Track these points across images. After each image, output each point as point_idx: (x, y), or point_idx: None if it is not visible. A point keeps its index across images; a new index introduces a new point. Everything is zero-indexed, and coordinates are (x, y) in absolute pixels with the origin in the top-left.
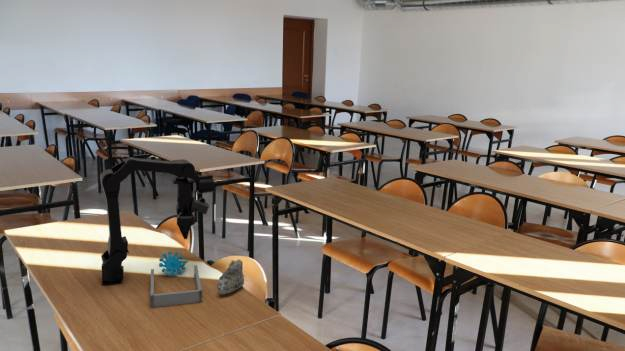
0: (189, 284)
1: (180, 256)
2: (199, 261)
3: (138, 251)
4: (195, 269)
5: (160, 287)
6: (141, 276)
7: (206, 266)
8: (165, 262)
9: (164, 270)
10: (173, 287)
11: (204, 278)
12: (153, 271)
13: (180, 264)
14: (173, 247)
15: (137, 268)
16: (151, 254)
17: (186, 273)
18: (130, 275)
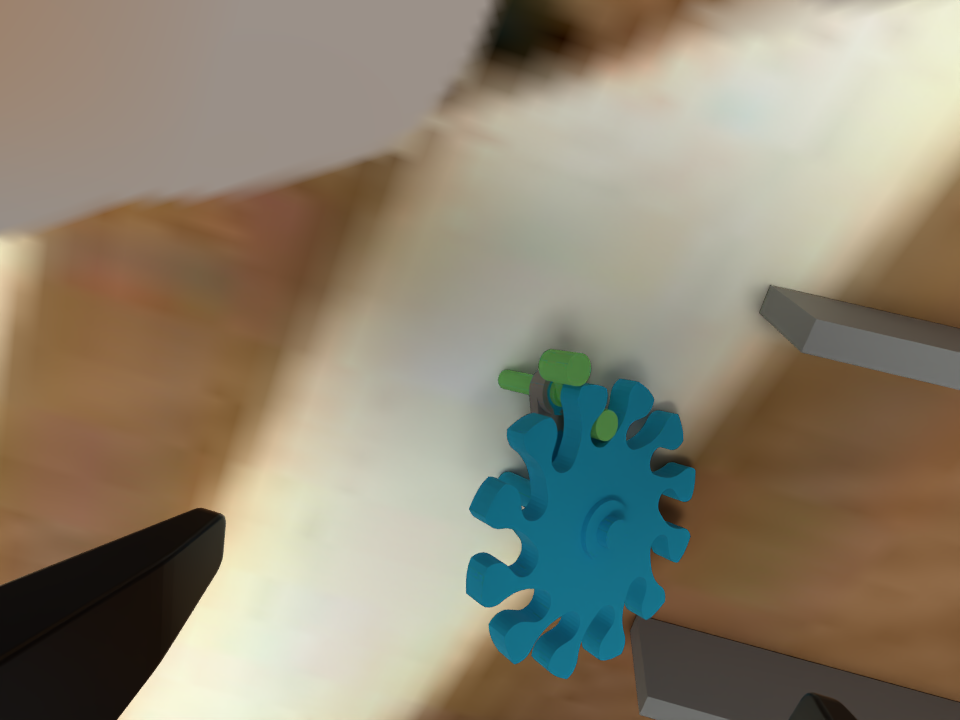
0: (925, 414)
1: (537, 453)
2: (434, 148)
3: None
4: (928, 375)
5: (813, 620)
6: (539, 664)
7: (601, 111)
8: (598, 609)
9: (657, 595)
10: (884, 545)
11: (896, 235)
12: (701, 714)
13: (613, 443)
14: (23, 296)
15: (387, 647)
16: (151, 501)
17: (665, 364)
18: (488, 709)
